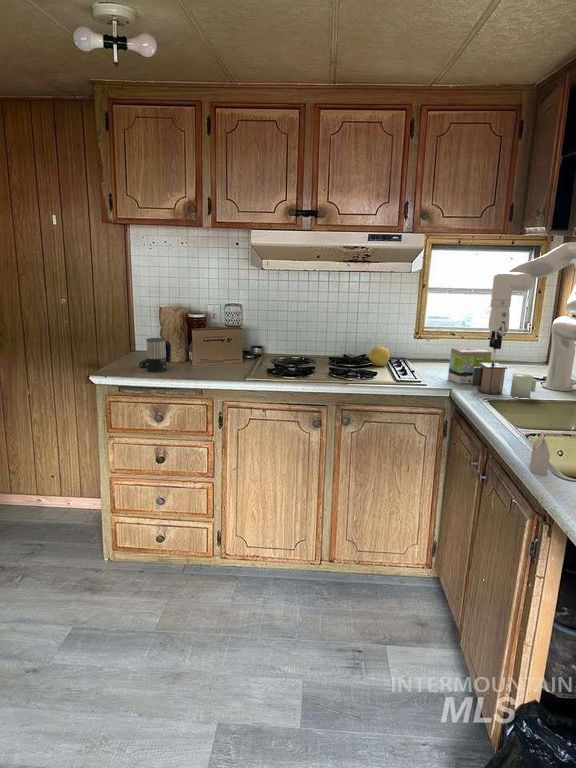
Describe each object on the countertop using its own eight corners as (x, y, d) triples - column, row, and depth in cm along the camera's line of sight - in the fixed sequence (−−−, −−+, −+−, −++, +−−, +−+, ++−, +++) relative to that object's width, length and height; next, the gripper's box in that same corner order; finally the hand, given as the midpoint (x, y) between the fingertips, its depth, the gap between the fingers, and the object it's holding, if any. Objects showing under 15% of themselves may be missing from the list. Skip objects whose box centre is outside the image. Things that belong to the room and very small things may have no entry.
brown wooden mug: (496, 389, 229) (500, 362, 226) (506, 395, 219) (509, 367, 217) (467, 388, 229) (470, 362, 226) (475, 394, 219) (478, 367, 216)
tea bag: (544, 466, 145) (550, 432, 142) (546, 476, 139) (552, 440, 136) (530, 464, 146) (535, 430, 144) (531, 473, 140) (536, 438, 137)
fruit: (392, 365, 272) (393, 346, 270) (382, 368, 264) (383, 349, 262) (374, 362, 279) (376, 343, 276) (364, 365, 270) (365, 346, 268)
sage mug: (528, 394, 221) (531, 373, 219) (537, 399, 214) (540, 378, 212) (507, 394, 221) (509, 373, 219) (514, 399, 214) (517, 377, 212)
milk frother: (162, 373, 242) (161, 341, 238) (130, 371, 244) (128, 339, 241) (173, 366, 256) (173, 336, 252) (143, 364, 258) (141, 334, 254)
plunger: (496, 373, 226) (500, 336, 222) (502, 376, 219) (507, 338, 215) (481, 373, 225) (485, 335, 222) (486, 376, 219) (491, 338, 215)
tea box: (459, 384, 236) (463, 352, 232) (447, 379, 245) (450, 348, 242) (488, 383, 240) (492, 351, 236) (474, 378, 249) (478, 347, 246)
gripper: (518, 305, 207) (512, 351, 212) (501, 302, 223) (496, 344, 228) (499, 305, 207) (493, 351, 212) (483, 301, 223) (478, 344, 228)
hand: (495, 347), depth 220 cm, fingers closed on plunger, 3 cm apart
